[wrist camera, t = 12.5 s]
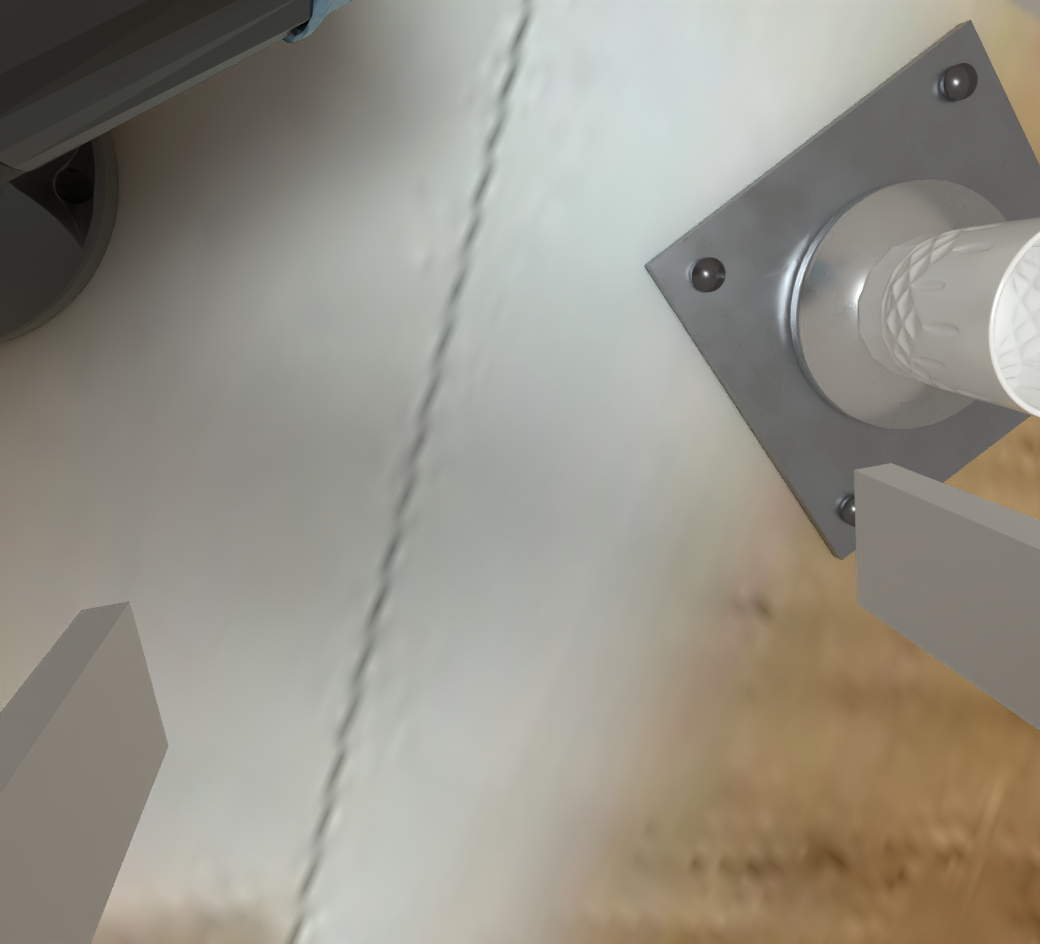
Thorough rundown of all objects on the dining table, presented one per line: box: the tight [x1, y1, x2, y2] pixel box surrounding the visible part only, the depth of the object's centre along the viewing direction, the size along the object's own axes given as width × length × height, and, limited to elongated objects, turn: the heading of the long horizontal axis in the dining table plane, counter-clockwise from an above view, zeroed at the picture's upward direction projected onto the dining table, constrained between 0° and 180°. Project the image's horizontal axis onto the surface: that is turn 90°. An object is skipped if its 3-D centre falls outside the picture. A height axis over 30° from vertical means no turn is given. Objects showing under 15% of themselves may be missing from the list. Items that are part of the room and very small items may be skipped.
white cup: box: [858, 217, 1040, 418], centre depth 37 cm, size 8×8×10 cm
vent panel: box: [644, 20, 1040, 560], centre depth 43 cm, size 19×19×2 cm
